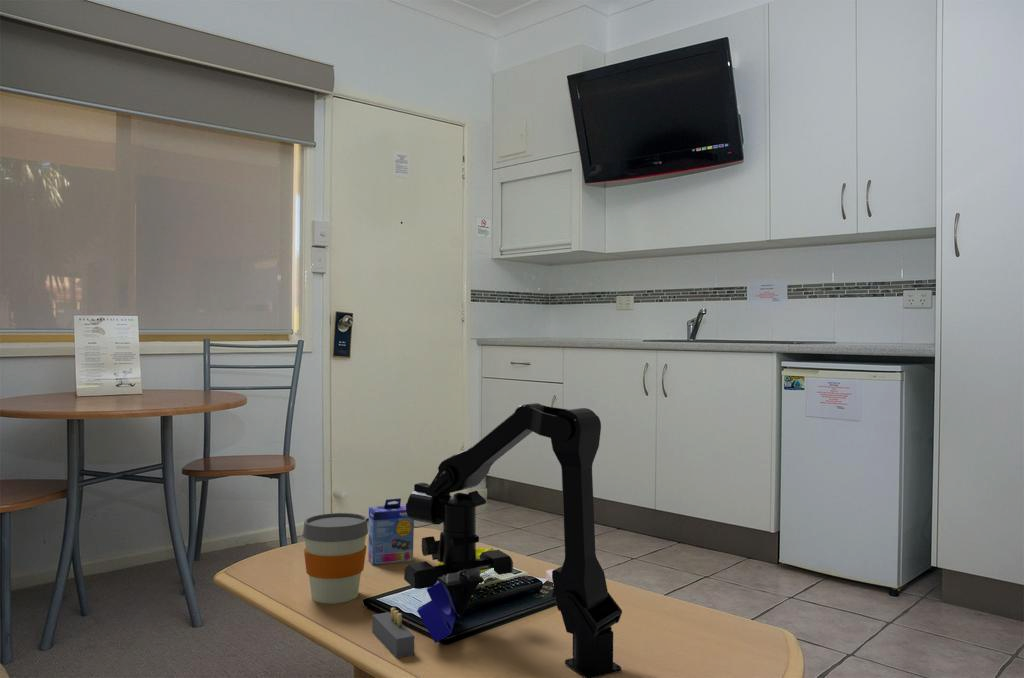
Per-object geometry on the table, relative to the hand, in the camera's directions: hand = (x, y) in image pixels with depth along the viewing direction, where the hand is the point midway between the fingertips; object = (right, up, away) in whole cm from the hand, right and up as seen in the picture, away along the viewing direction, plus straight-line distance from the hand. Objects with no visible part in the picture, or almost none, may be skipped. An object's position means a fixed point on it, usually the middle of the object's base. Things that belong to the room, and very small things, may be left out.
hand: (459, 616), depth 130 cm
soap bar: (+20, -3, +24) cm, 32 cm away
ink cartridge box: (-19, -2, +41) cm, 45 cm away
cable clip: (-2, -1, -3) cm, 4 cm away
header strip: (-11, -2, -7) cm, 13 cm away
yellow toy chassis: (0, -3, +22) cm, 22 cm away
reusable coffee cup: (-26, -2, +16) cm, 31 cm away
